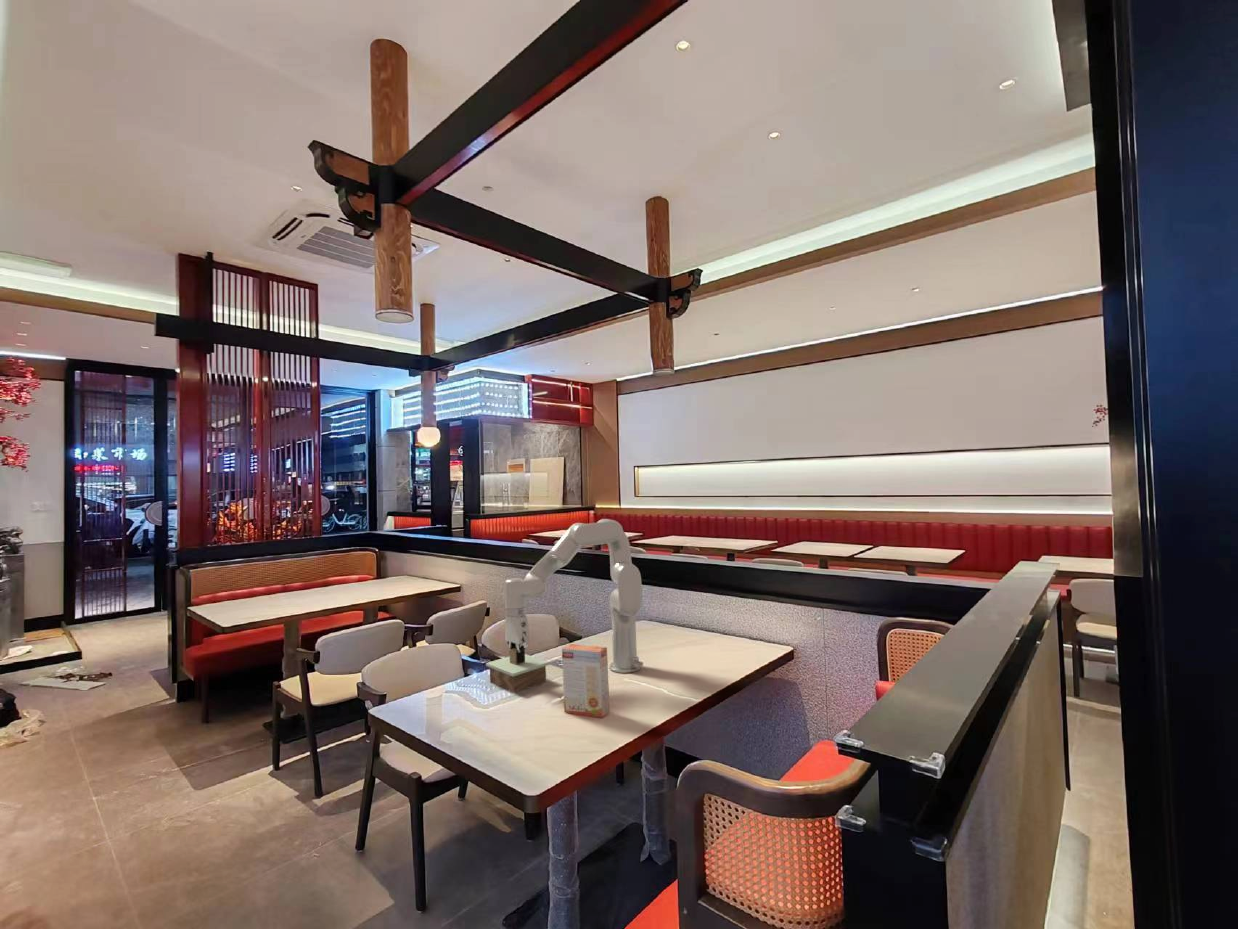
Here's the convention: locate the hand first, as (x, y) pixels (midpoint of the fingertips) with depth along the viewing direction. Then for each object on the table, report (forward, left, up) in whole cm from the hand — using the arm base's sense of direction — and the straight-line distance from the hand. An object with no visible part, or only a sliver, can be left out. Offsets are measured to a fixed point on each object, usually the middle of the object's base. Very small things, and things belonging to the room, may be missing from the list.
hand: (517, 660), depth 207 cm
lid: (0, 0, -2) cm, 2 cm away
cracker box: (-39, 0, -9) cm, 40 cm away
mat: (0, -19, -9) cm, 21 cm away
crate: (0, 0, -9) cm, 9 cm away
